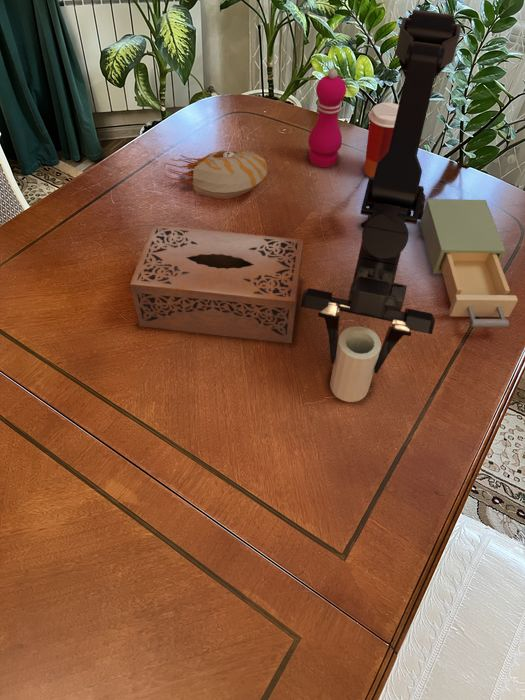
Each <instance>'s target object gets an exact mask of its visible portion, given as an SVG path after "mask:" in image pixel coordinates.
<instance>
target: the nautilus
mask: <svg viewBox="0 0 525 700" xmlns="http://www.w3.org/2000/svg"><path fill="white" fill-rule="evenodd" d="M179 156H180V157H182V158H180V157H179V158H178V159H172V158H170V160H171V161H175V162H179V161H182V162H184V163H187V164H186V165H176V164H172V163H167V162H164V164H165V165H169V166H173V167H176V168H177V167H178V168H179V169H187V170H188V171H187V172H186V171H185V172H182V171H179V170H175V169H172V168H170V167H169V168H168V171H169V172H170V173H173V174H176V175H178V176H179V178H175V177H170V176H167V175H165V177H166V178H168V179H171V180H176V181H178V182H176V184H186V185H187V186H189V187H191V188H193V189H194V191H195V192H196V194H197V195H201V196H204V197H208V198H213V199H220V200H228V199H233V198H237V197H240V196H242V195H244V194H246V193H248V192H251V191H253V190H254V189H255V188H256V187H257V186H258V185H260V183H261V182H262V181H263V180H264V179H265V177H266V176H267V174H268V172H269V169H268V165H267V162H266V159H265V158H264V157H263V156H261V155H260V154H259V153H257V152H254V151H251V150H219V151H214V152H211V153H209V154H207V155H205V156H203V157H198V158H189V157H187V156H184V155H182V154H180V155H179ZM183 176H186V177H187V178H184V177H183ZM186 189H188V187H185V188H184V190H186Z"/></svg>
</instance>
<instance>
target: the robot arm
mask: <svg viewBox="0 0 525 700" xmlns="http://www.w3.org/2000/svg"><path fill="white" fill-rule="evenodd" d="M461 27H462V25H461V24H457V22H456V20H455V14H450V13H443V12H435V11H427V10H419V9H412V13H411V14H409V15H408V17H404V16H403V17H402V20H401V24H400V26H399V32H398V37H397V42H396V45H395V46H396V47H395V52H394V54H395V56H396V57H397V59H398V63H399V65H400V67H401V70H402V73H403V76H404V80H403V84H402V89H401V94H400V98H399V103H398V105H399V107H398V111H397V115H396V120H395V124H394V129H393V133H392V138H391V142H390V147H389V151H388V152H387V153H386V154H385V155H384V156H383V158H382V159H381V160H380V161H379V162H378V163H377V166H376V171H375V175H374V177H369V176H368V177H369V178H368V180H367V184H366V188H365V192H364V196H363V201H362V204H361V209H360V215H362V216H367V218H366V220H365V221H362V222H360V227H361V228H362V233H361V242H360V243H361V244H360V248H359V253H358V256H357V263H356V265H355V266H356V267H355V271H354V274H353V279H352V283H351V285H350V289H349V294H348V298H347V299H344V298H340V297H334V296H333V292H331V291H325V290H322V289H315V288H311V287H308V288H307V289H305V290H303V292H302V297H301V301H300V305H299V306H300V307H302V308H305V309H311V310H315V311H319V312H318V314H317V317H319V318H323V319H324V322H325V326H326V330H327V335H328V342H329V355H330V364H332V365H334V361H335V356H336V350H337V345H338V340H339V328H340V320H341V319H340V318H341V315H339V313H340V312H344V313H349V314H353V315H358V316H362V317H368V318H372V319H377V320H382V321H387V322H391V325H389V326H388V328H387V331H386V334H385V337H384V339H383V342H382V344H381V350H380V353H379V357H378V360H377V363H376V366H375V370H374V373H373V374H378V373H379V371H380V369H381V368H382V366H383V364H384V362H385V361H386V359H387V358H388V356H389V354H390V352H391V351H392V350H393V348H394V347H395V346H396V345H397V343H398V342H399V341H400V340H401V339H402V338H403V337H404V336H407V337H411V336H412V331H415V332H419V333H424V334H429V335H432V334H433V332H434V327H435V322H436V317H435V316H434V314H433V313H431V312H427V311H423V310H418V309H413V308H409V307H405V309H404V311H402V310H403V305H404V303H405V297H406V293H407V290H408V289H407V288H408V286H407V285H406V284H401V283H397V282H395V280H396V275H397V272H398V266H399V263H400V258H401V253H402V252H403V251H404V249H405V248H406V246H407V244H408V241H409V230H408V226H407V224H412V225H417V223H418V220H419V221H421V219H422V215H423V211H424V208H425V204H426V194H425V192H424V191H425V188H424V185H423V186H422V185H420V183H421V178H422V173H423V169H422V166H421V163H420V160H419V157H418V154H419V153H418V152H419V148H420V143H421V139H422V136H423V135H422V134H423V130H424V126H425V122H426V118H427V112H428V108H429V105H430V100H431V96H432V91H433V88H434V82H435V78H437V77H438V76H439V75H440V74H441V72H442V71H443V70H444V69H446V66H448V65H450V64H452V63H453V61H454V58H455V54H456V50H457V46H458V43H459V39H460V35H461ZM406 223H407V224H406Z"/></svg>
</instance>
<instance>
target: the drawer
mask: <svg viewBox="0 0 525 700" xmlns="http://www.w3.org/2000/svg"><path fill="white" fill-rule="evenodd" d="M440 266H441V270H442V274H441V275H442V277H443V280H444V284H445V289H446V291H447V295H448V299H449V303H450V307H449V310H448V313H449V317H469V327H470V328H498V329H499V328H500V329H502V328H503V329H504V328H506V329H507V328H508V327H509V325H510V321H509V319H508V318H509V317H510V316H511V314H512V312H513V310H514V308H515V307H516V305H517V303H518V301H519V299H518V297H517V295H515V294H510V291H511V289H510V286H509V284H508V281H507V279H506V276H505V273H504V270H503V268H502V264H501V261H500V262H499V259H498V257H497V254H496V253H444V255H443V258H442V261H441V264H440ZM476 317H477V318H476ZM478 317H479V318H478ZM481 317H482V318H481ZM483 317H484V318H483ZM485 317H486V318H485Z"/></svg>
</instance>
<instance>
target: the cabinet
mask: <svg viewBox="0 0 525 700" xmlns="http://www.w3.org/2000/svg"><path fill="white" fill-rule="evenodd" d="M419 221H420V222H419V225H420V228H421V233H422V236H423V240H424V244H425V247H426V252H427V257H428V259H429V263H430V267H431V271H432V274H433V275H443V274H442V270H441V266H440V264H441V261H442V258H443V255H444V253H496V254H497V257H498V259H499V262H500V263H501V262H502V259H503V257H504V255H505V253H506V248H505V246H504V243H503V240H502V238H501V236H500V233H499V231H498V228H497V225H496V222H495V219H494V217H493V215H492V212H491V209H490V207H489V204H488V201H487V200H486V199H456V198H454V199H450V198H449V199H448V198H447V199H446V198H427V199H426V200H425V203H424V211H423V215H422V219H421V220H419Z"/></svg>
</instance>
